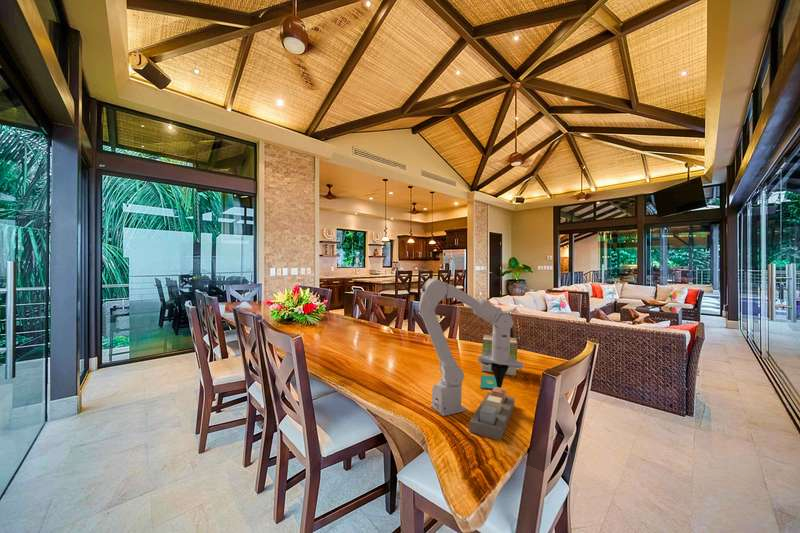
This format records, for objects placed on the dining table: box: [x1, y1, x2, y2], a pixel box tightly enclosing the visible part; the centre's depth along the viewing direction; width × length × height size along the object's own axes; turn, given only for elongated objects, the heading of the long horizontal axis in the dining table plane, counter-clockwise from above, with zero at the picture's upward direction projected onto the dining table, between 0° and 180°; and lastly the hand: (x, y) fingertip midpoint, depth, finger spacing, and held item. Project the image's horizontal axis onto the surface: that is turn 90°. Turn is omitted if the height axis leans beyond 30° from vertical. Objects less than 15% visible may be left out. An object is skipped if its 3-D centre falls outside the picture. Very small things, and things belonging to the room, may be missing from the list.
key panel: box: [468, 391, 516, 441], centre depth 102 cm, size 24×9×3 cm, turn 152°
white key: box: [486, 395, 502, 414], centre depth 102 cm, size 4×4×4 cm
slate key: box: [480, 405, 497, 426], centre depth 95 cm, size 4×4×4 cm
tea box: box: [480, 334, 518, 376], centre depth 146 cm, size 15×10×15 cm
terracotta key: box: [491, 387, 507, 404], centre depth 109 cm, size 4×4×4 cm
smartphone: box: [480, 374, 501, 391], centre depth 131 cm, size 7×1×15 cm
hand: (499, 386), depth 109 cm, fingers closed
